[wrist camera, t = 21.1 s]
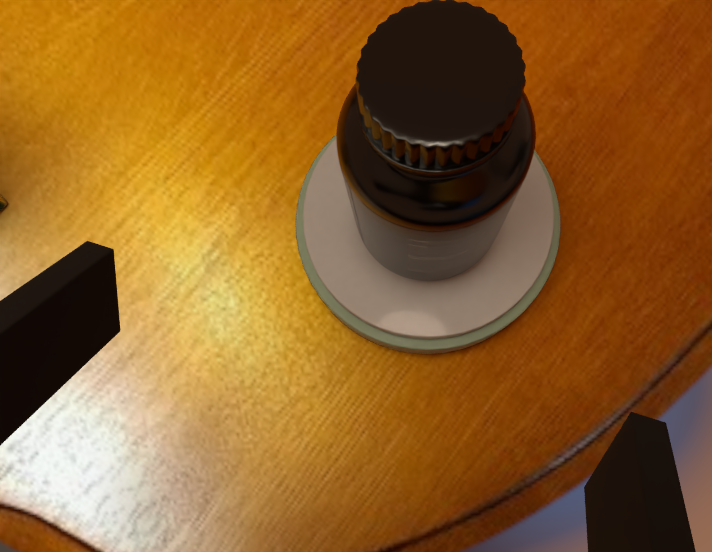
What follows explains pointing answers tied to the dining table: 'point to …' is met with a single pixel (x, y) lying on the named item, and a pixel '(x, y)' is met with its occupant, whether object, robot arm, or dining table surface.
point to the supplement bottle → (435, 138)
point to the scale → (424, 298)
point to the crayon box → (2, 203)
